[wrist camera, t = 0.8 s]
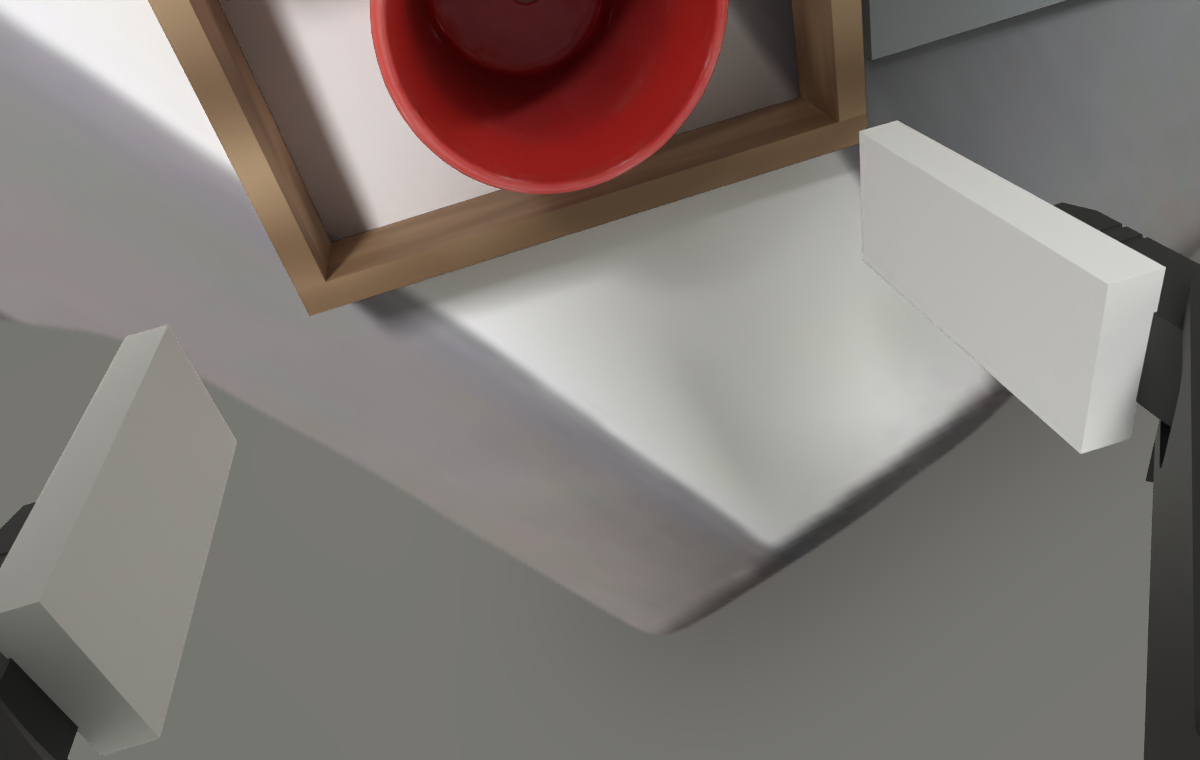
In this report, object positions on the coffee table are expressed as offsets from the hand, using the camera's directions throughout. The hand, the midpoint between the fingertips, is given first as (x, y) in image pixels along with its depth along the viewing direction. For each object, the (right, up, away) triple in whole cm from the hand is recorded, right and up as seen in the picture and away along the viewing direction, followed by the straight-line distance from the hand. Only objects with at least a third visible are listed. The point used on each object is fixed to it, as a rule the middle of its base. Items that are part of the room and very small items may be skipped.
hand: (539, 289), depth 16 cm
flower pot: (-2, +14, +17) cm, 22 cm away
